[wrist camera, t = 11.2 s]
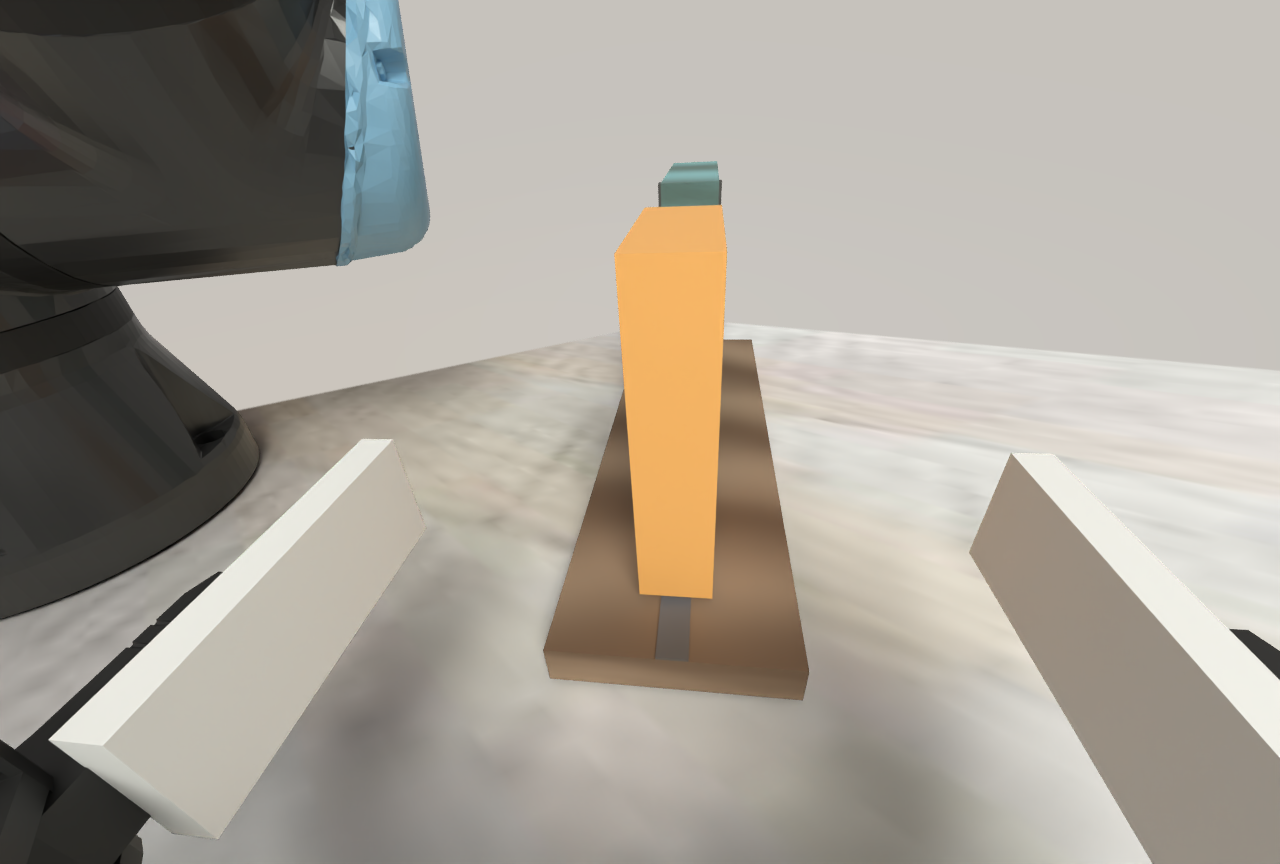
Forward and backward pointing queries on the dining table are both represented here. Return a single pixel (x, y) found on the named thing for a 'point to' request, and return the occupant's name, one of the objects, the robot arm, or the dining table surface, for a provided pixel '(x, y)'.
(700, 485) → the stub
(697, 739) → the dining table surface
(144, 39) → the robot arm
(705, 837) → the dining table surface
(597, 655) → the ticket stand
